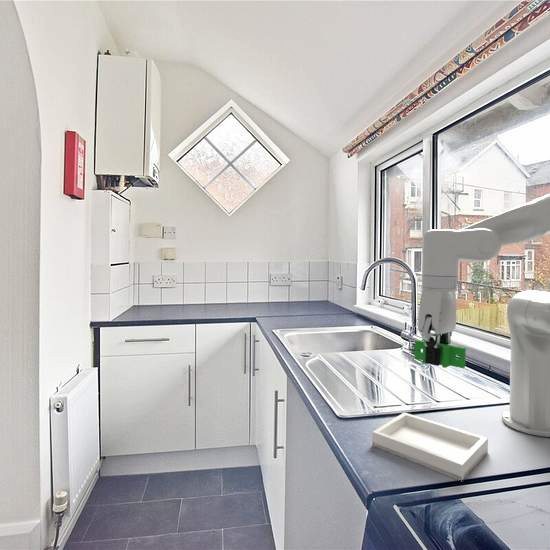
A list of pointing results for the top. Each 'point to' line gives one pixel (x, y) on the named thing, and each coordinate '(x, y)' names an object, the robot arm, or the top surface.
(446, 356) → the pipe clamp
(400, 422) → the tray
